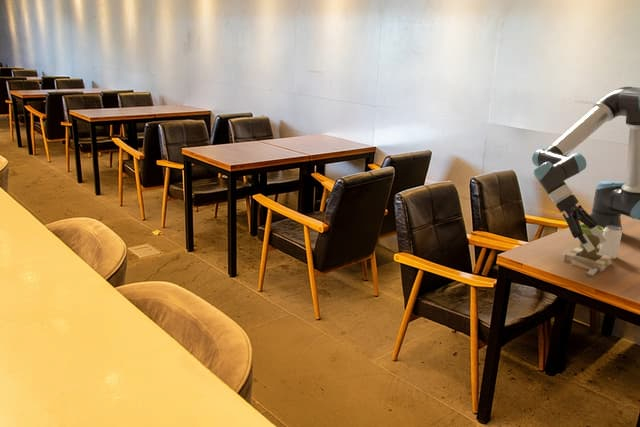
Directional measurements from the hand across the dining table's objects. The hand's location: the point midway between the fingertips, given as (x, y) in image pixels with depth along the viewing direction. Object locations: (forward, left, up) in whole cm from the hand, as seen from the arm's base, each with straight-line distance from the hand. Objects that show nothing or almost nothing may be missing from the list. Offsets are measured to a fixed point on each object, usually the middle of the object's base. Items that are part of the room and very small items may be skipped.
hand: (597, 246), depth 200 cm
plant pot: (-19, -8, -8) cm, 22 cm away
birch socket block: (0, -2, -7) cm, 8 cm away
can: (-14, +1, -8) cm, 16 cm away
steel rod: (+9, +3, -7) cm, 12 cm away
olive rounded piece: (0, -2, -8) cm, 8 cm away
